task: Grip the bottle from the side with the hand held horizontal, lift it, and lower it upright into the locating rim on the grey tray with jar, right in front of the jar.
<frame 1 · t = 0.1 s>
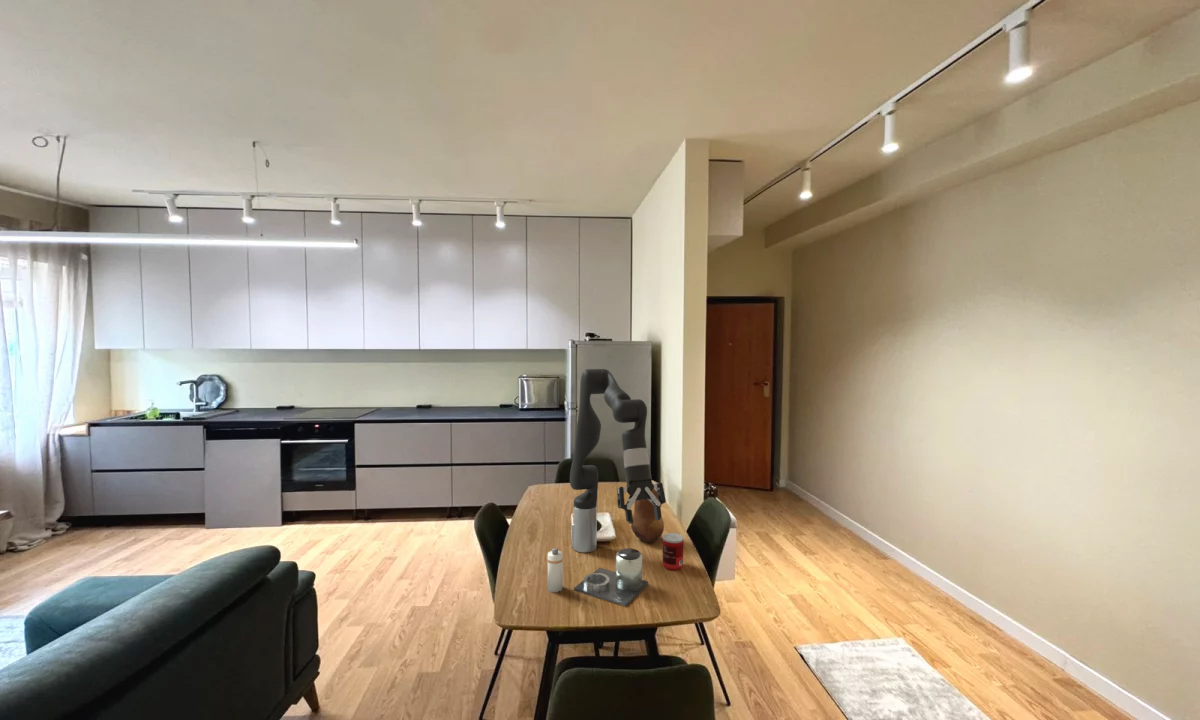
hand: (644, 521, 142), 31 cm above the table, tool tilted 20°, fingers open, 8 cm apart
bottle: (555, 588, 165), on the table
grey tray with jar: (596, 587, 166), on the table
butternut squash: (647, 540, 205), on the table
canned food: (672, 566, 182), on the table
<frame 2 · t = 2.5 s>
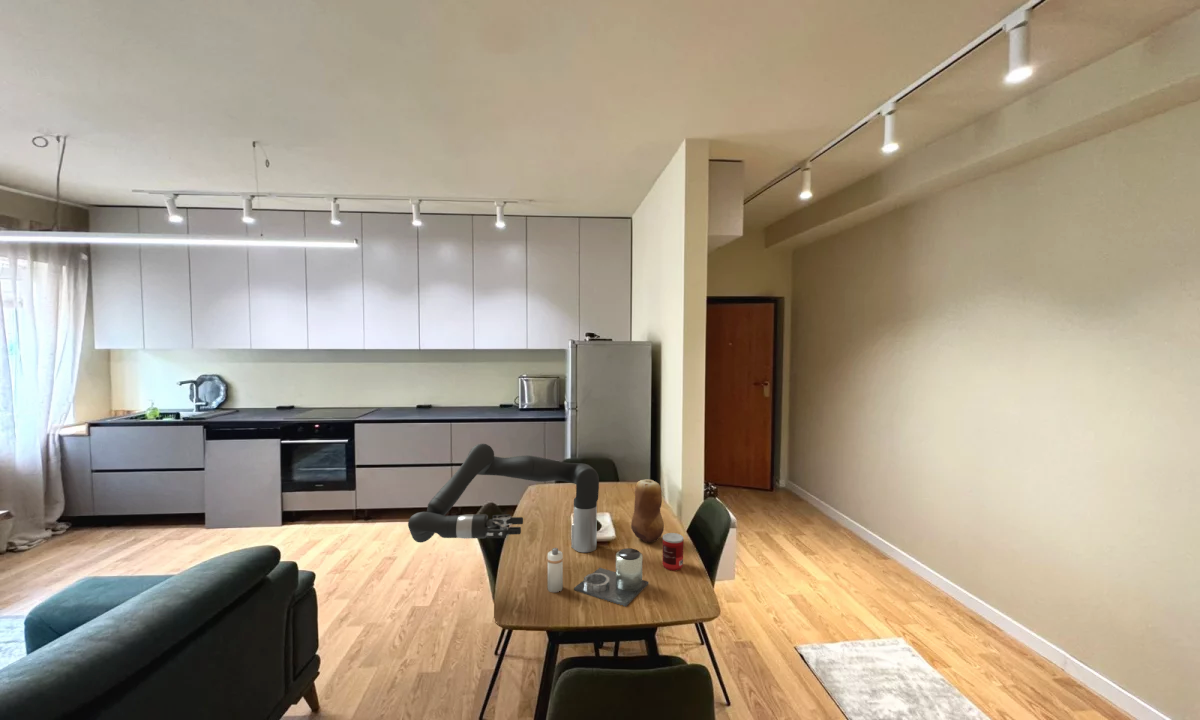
hand: (521, 525, 163), 22 cm above the table, tool horizontal, fingers open, 8 cm apart
nothing on the table moved.
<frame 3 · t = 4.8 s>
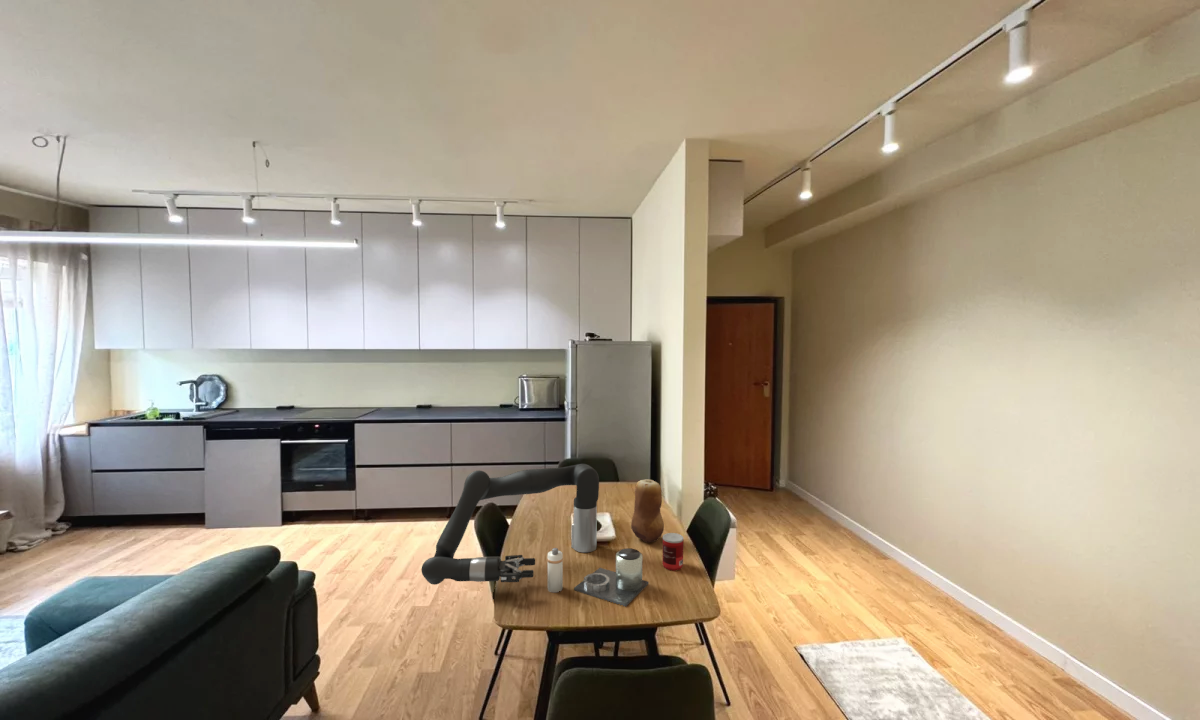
hand: (534, 567, 165), 7 cm above the table, tool horizontal, fingers open, 8 cm apart
nothing on the table moved.
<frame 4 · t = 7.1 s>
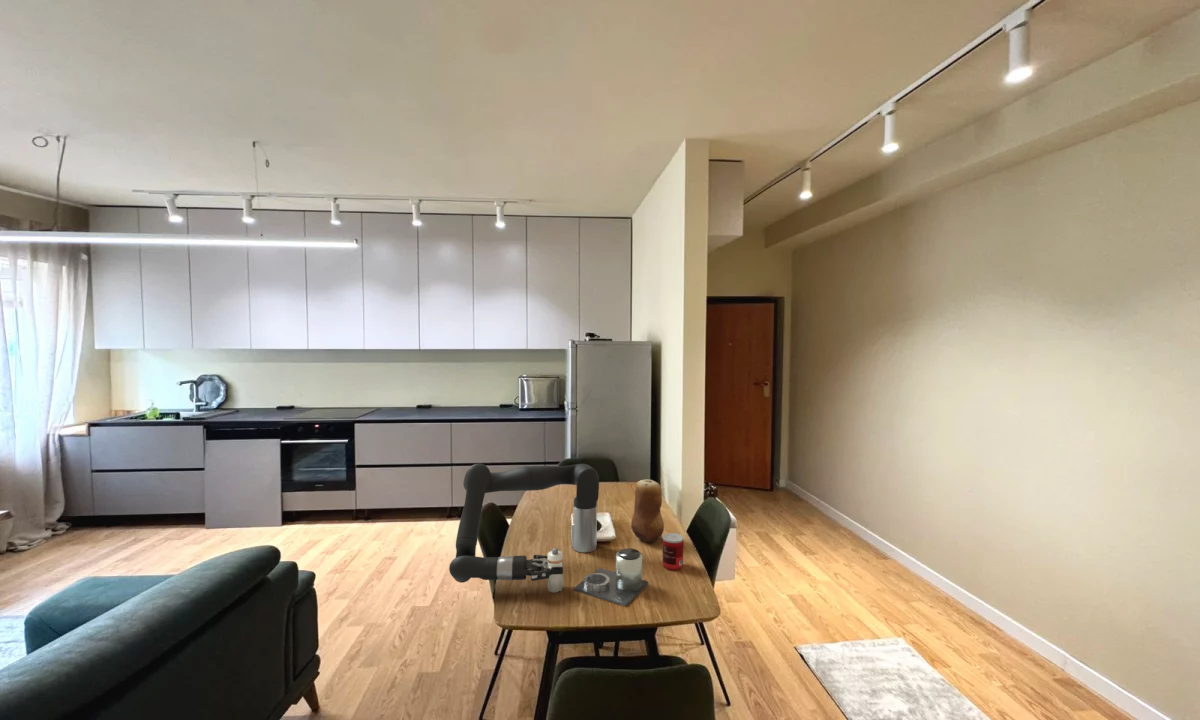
hand: (562, 566, 165), 8 cm above the table, tool horizontal, fingers closed on bottle, 5 cm apart
bottle: (555, 588, 165), on the table, touching gripper
everything else where it was.
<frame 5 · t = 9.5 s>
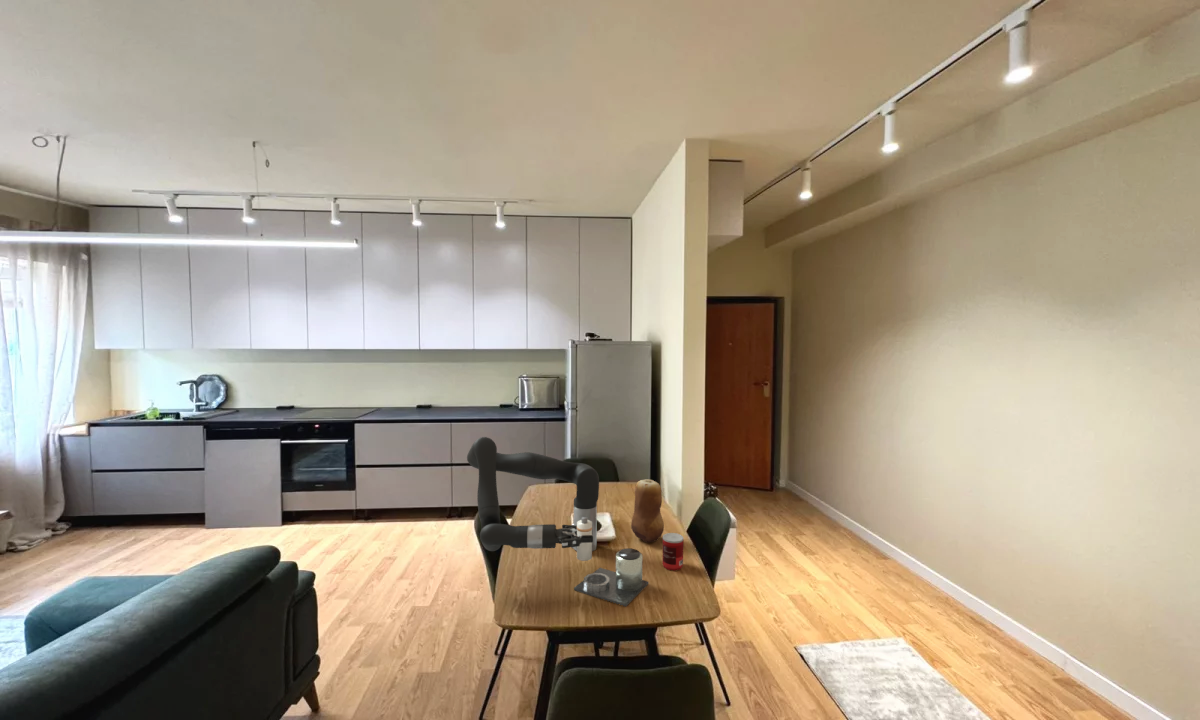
hand: (592, 535, 165), 18 cm above the table, tool horizontal, fingers closed on bottle, 5 cm apart
bottle: (584, 557, 166), point 10 cm above the table, touching gripper
everything else where it was.
when the fingers open (10 cm above the table, at t = 12.3 s): bottle drops 1 cm, resting on grey tray with jar.
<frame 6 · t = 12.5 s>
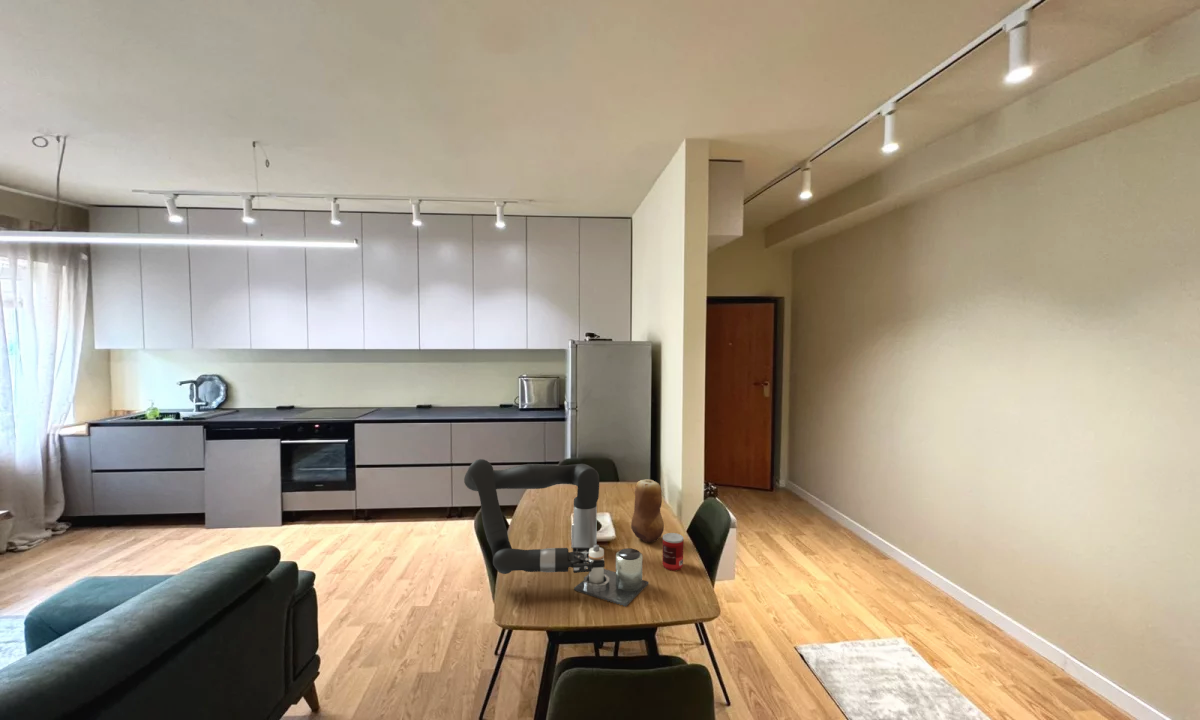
hand: (603, 558, 166), 10 cm above the table, tool horizontal, fingers open, 6 cm apart
bottle: (596, 585, 166), point 1 cm above the table, touching grey tray with jar
everything else where it was.
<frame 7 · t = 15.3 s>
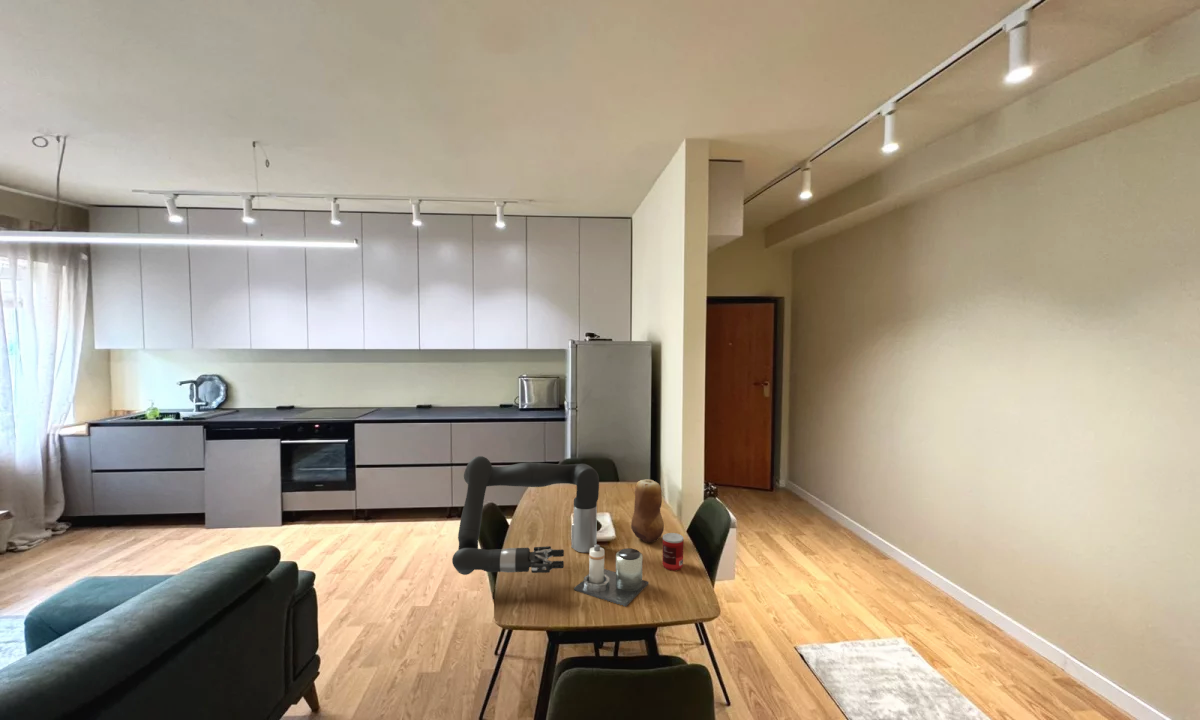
hand: (563, 558, 165), 10 cm above the table, tool horizontal, fingers open, 8 cm apart
nothing on the table moved.
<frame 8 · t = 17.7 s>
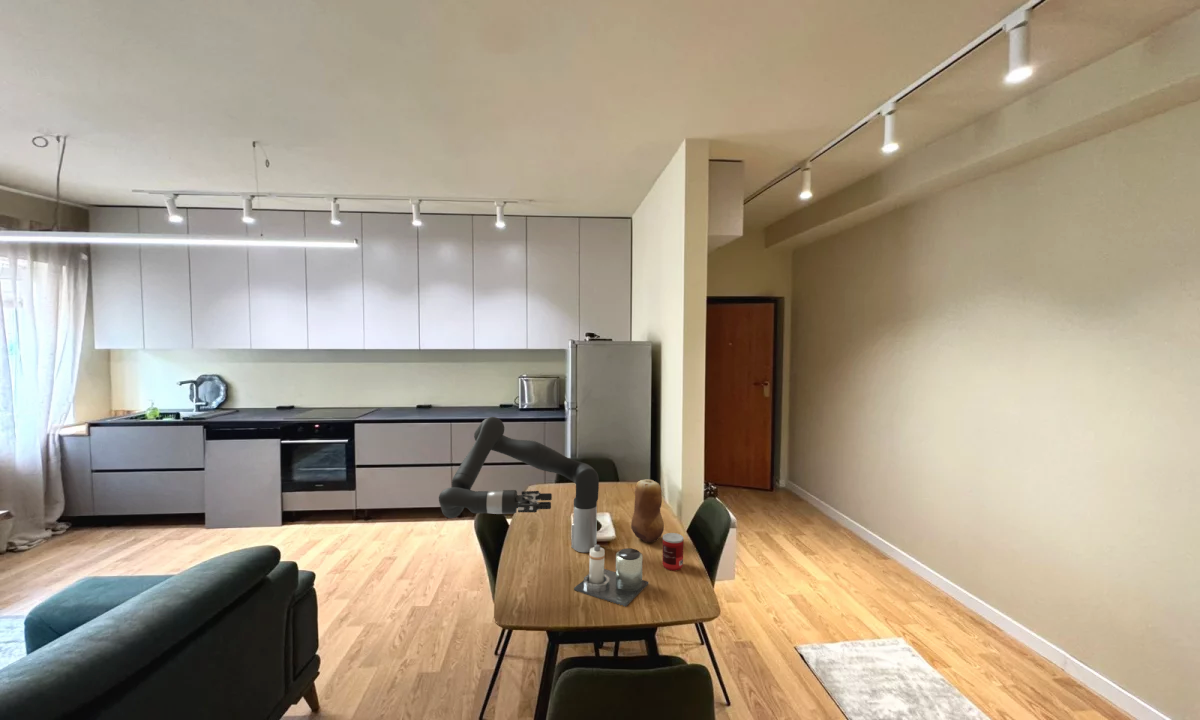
hand: (551, 500, 164), 30 cm above the table, tool horizontal, fingers open, 8 cm apart
nothing on the table moved.
at the end: bottle 0.1 cm off-centre on the grey tray with jar, point 0.8 cm above the grey tray with jar's base; bottle tilted 1°; the gripper is holding nothing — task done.
